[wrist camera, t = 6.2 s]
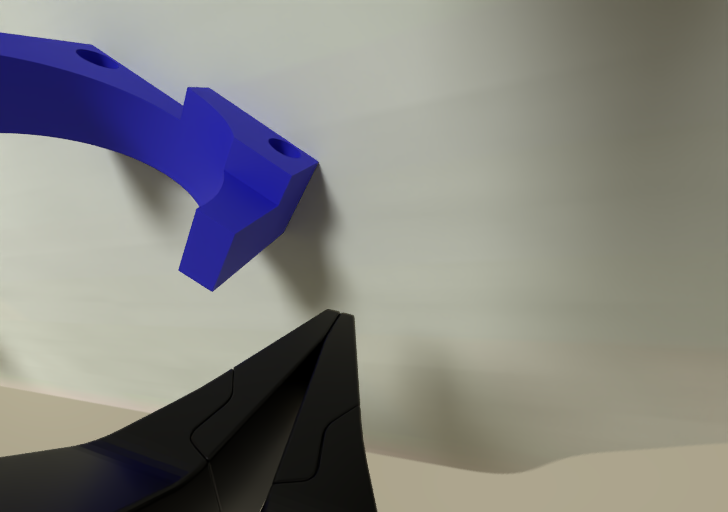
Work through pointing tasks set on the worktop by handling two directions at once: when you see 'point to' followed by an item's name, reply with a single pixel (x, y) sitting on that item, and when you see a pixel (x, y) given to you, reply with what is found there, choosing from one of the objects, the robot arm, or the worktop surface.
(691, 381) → the worktop surface
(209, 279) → the cable clip
